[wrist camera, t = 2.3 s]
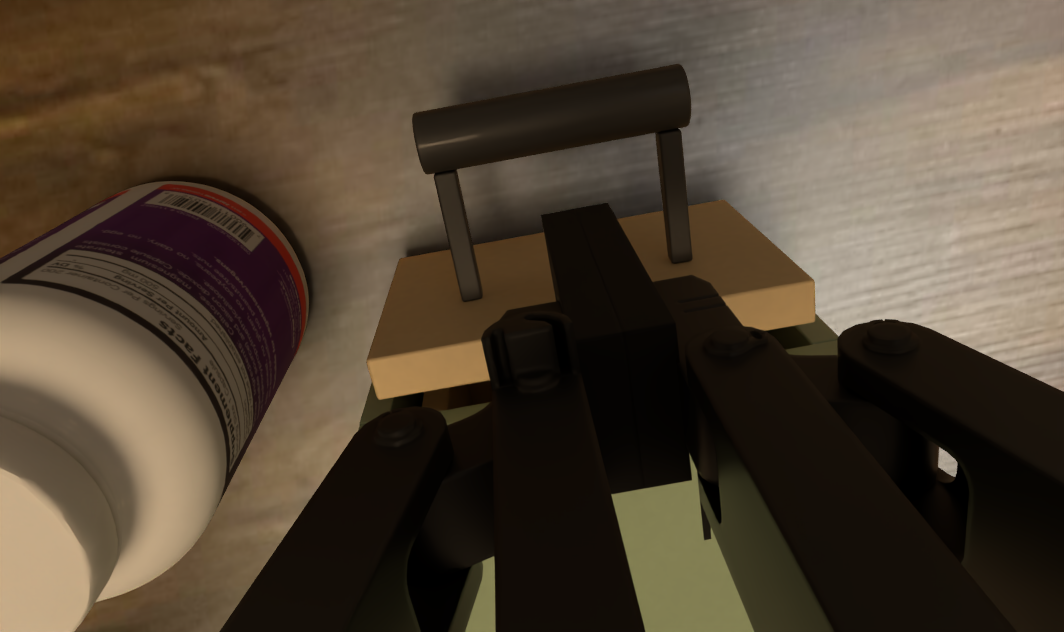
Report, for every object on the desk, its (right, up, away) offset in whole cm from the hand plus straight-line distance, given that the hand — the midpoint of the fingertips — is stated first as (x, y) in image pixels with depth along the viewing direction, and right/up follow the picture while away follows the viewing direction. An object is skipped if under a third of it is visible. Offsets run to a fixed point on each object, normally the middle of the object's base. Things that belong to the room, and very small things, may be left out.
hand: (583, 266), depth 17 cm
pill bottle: (-13, 0, +10) cm, 16 cm away
